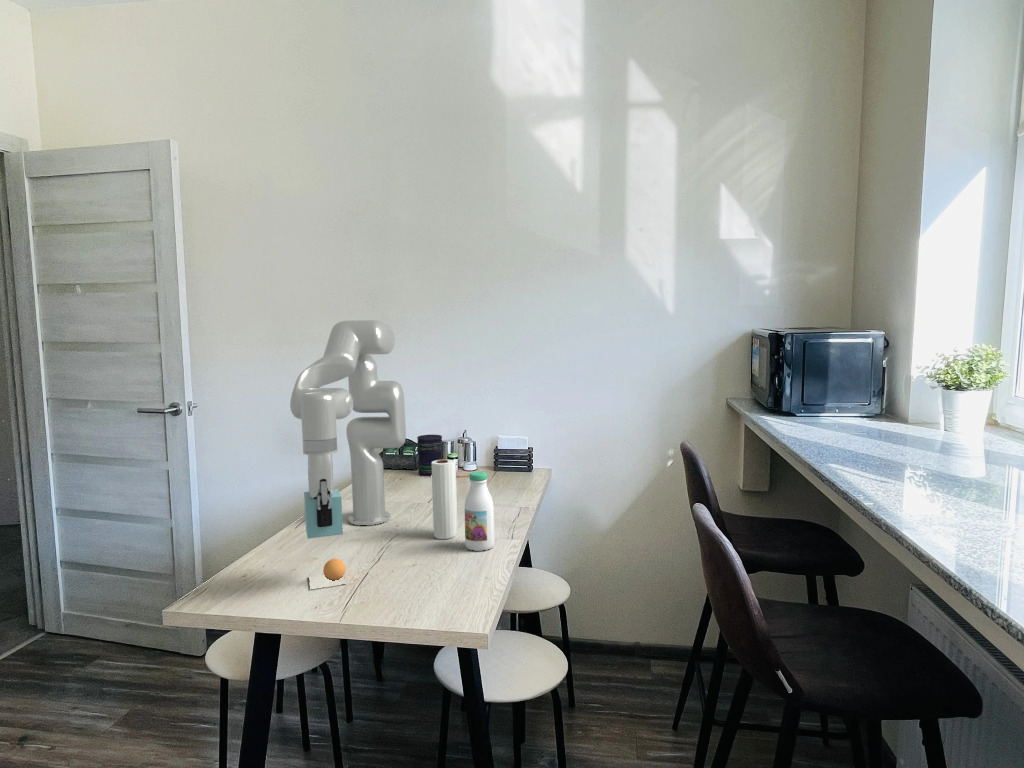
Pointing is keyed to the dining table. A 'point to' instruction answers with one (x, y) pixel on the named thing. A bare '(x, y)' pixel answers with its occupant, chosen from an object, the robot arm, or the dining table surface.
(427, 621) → the dining table surface
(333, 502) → the light teal cube-like block
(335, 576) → the ball
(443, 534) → the paper towel roll
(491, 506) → the milk bottle
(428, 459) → the storage jar
